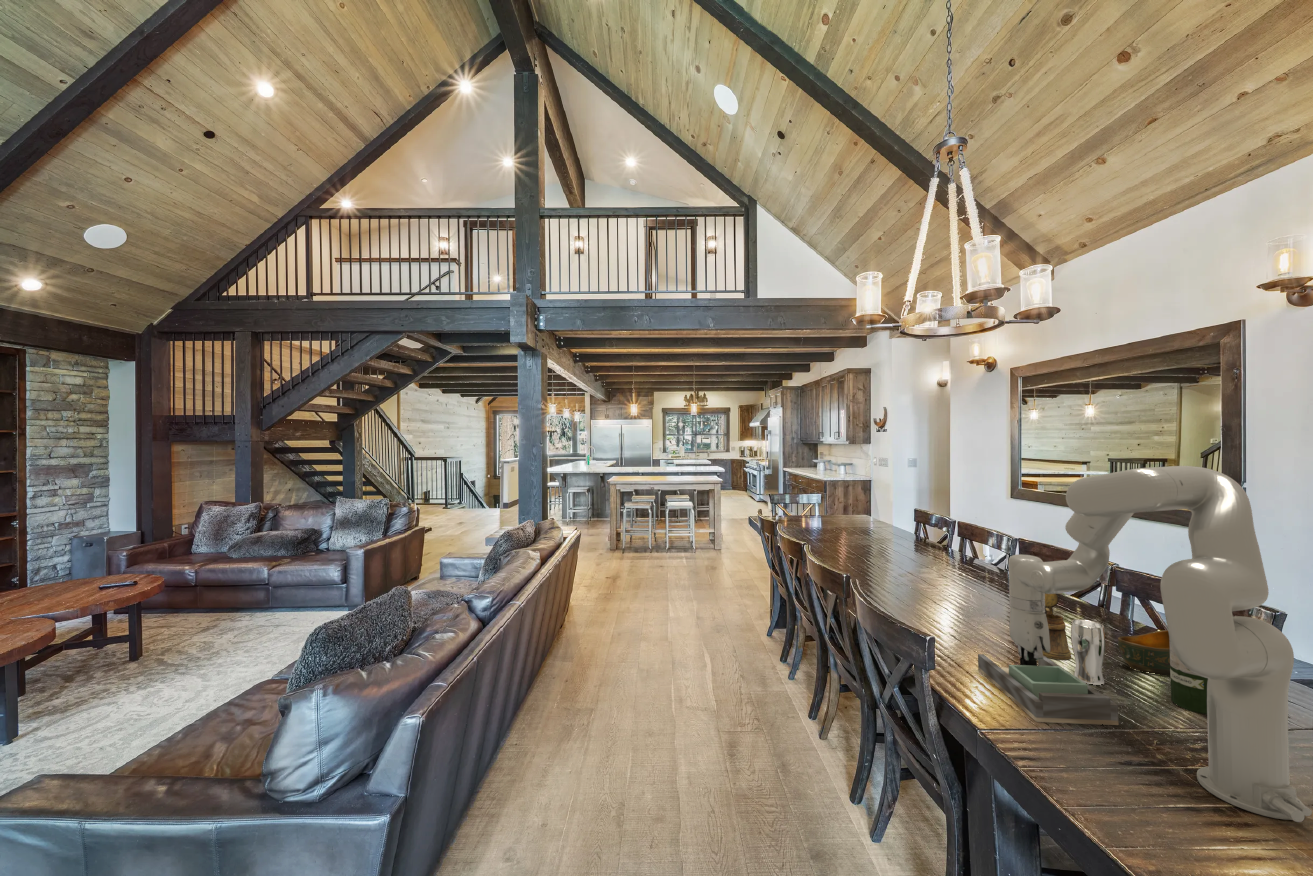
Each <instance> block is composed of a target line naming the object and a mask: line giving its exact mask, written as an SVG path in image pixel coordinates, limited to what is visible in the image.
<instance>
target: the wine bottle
mask: <svg viewBox="0 0 1313 876" xmlns="http://www.w3.org/2000/svg"><path fill="white" fill-rule="evenodd" d="M1169 640H1170V637H1169ZM1169 678H1170V701H1171V702H1172V701H1173V702H1174V703H1175V704H1174V703H1173V702H1172V703H1173V704H1174V705H1176V704H1177V705H1178V707H1179V706H1180V707H1179V708H1181V707H1182V709H1183V708H1184V710H1187V711H1189V712H1193V713H1196V714H1201V715H1207V682H1208V678H1205V677H1202V676H1199V675H1197V674H1195V673H1193V672H1192V671H1190V670H1189V669H1188V668H1187V667H1185V666H1184V665H1183V664H1182V663H1181V661H1180V660H1179V659H1178V657H1177V656H1176V654H1175V652H1174V650H1173V647H1172V645H1171V641H1170V676H1169ZM1177 705H1176V706H1177Z"/></svg>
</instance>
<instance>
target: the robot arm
mask: <svg viewBox="0 0 1313 876" xmlns="http://www.w3.org/2000/svg"><path fill="white" fill-rule="evenodd" d="M1065 500H1066V504H1067V506H1068V507H1069V509H1070V510H1071V511H1072V512H1073V514H1072V515H1071V516H1070V518H1069V519H1068V520H1067V522H1066V523H1065V527H1064V528H1065V531H1066V533H1067V535H1069V537H1071V538H1072V540H1074V541H1075V542H1077V544H1078V545H1077V547H1076V549H1075V550H1074V551H1073V553H1072V554H1071V555H1070V556H1069V557H1068V559H1066V560H1065V559H1062V560H1061V559H1060V560H1054V561H1053V560H1052V561H1043V560H1042V559H1041V558H1040V557H1038V556H1035V555H1030V554H1013V555H1011V556H1010V557H1009V558H1008V588H1009V590H1008V591H1009V594H1008V598H1009V600H1008V601H1009V608H1010V609H1009V621H1008V622H1009V624H1008V625H1009V638H1010V639H1011V640H1012V641H1013V643H1014V645H1016V647H1017V649H1018V650H1017V651H1018V656H1019V665H1035V666H1038V659H1043V651H1044V652H1046V653H1049V652H1050V637H1049V628H1048V622H1047V618H1046V614H1045V607H1046V606H1045V594H1057V595H1058V594H1062V593H1072V592H1080V591H1085V590H1087V589H1088V588H1090V587H1091V586H1092V585H1094V584H1095V583H1096V582H1097V580H1098V579H1099V578H1100V577H1101V575H1103V573H1104V572H1105V571H1106V569H1107V567H1108V566H1109V563H1110V554H1111V553H1110V552H1111V551H1110V548H1109V545H1110V544H1111V543H1112V542H1113V540H1114V539H1115V538H1116V536H1117V535H1118V534H1119V533H1120V531H1121V530H1122V529H1123V528H1124V526H1126V524H1127V522H1129V520H1130V519H1131V517H1132V516H1133V515H1134V514H1135V513H1148V512H1150V513H1151V512H1162V511H1173V510H1174V511H1175V510H1176V511H1177V510H1188V511H1190V512H1191V516H1190V520H1189V523H1188V530H1187V532H1188V533H1187V534H1188V541H1189V544H1190V550H1191V558H1187V559H1182V560H1181V559H1180V560H1179V561H1176V562H1174V563H1171V564H1170V565H1169V566H1168V567H1167V568H1166V569H1165V570H1164V571H1163V574H1162V576H1161V579H1160V586H1159V587H1160V595H1161V600H1162V606H1163V611H1164V615H1165V620H1166V625H1167V627H1166V628H1167V630H1168V632H1169V637H1170V641H1171V645H1172V647H1173V650H1174V652H1175V654H1176V656H1177V657H1178V659H1179V660H1180V661H1181V663H1182V664H1183V665H1184V666H1185V667H1187V668H1188V669H1189V670H1190V671H1192V672H1193V673H1195V674H1197V675H1199V676H1202V677H1205V678H1208V682H1207V714H1206V715H1207V716H1206V717H1207V718H1206V719H1207V750H1208V751H1207V752H1208V753H1207V755H1208V766H1203V767H1200V768H1198V770H1196V771H1197V772H1196V779H1197V781H1198V783H1199V784H1200V785H1201V787H1202V788H1204V789H1205V790H1206V791H1207V792H1209V793H1211V795H1214V796H1215V797H1216V798H1218V799H1221V800H1222V801H1224V802H1225V803H1228V804H1231V805H1233V806H1234V807H1236V808H1240V809H1242V810H1244V811H1247V812H1249V813H1250V812H1251V813H1254V814H1255V815H1260V816H1263V817H1268V818H1271V819H1280V820H1288V821H1294V822H1296V823H1302V822H1303V821H1304V820H1305V817H1310V816H1311V815H1312V814H1313V811H1312V809H1311V808H1310V807H1308V806H1307V805H1305V804H1304V803H1303V802H1302V801H1301V800H1300V798H1298V797H1297V789H1296V788H1295V787H1293V786H1292V785H1290V756H1289V755H1290V754H1289V752H1290V751H1289V747H1290V746H1289V690H1290V683H1291V678H1292V673H1293V669H1294V665H1295V661H1294V660H1295V655H1294V654H1295V653H1294V649H1293V647H1292V644H1291V642H1290V641H1289V639H1288V637H1287V636H1286V635H1285V634H1284V633H1283V632H1282V631H1281V630H1280V629H1278V628H1277V627H1276V626H1274V625H1273V624H1271V623H1269V622H1267V621H1264V620H1262V619H1260V618H1255V617H1250V616H1249V617H1248V616H1241V615H1240V616H1238V615H1235V616H1234V614H1233V612H1238V611H1246V610H1250V609H1254V608H1258V607H1260V606H1262V605H1263V604H1264V603H1266V601H1267V600H1268V598H1269V595H1270V594H1269V586H1268V580H1267V576H1266V572H1265V567H1264V562H1263V558H1262V554H1261V549H1260V546H1259V542H1258V539H1257V535H1256V531H1255V530H1256V529H1255V524H1254V518H1253V510H1252V505H1251V501H1250V499H1249V496H1248V494H1247V492H1246V491H1245V490H1244V488H1243V487H1242V486H1241V484H1239V483H1238V482H1237V481H1236V480H1235V479H1233V478H1232V477H1230V476H1229V475H1226V474H1225V473H1222V472H1220V471H1217V470H1214V469H1211V468H1208V467H1207V468H1206V467H1202V466H1193V465H1173V466H1172V465H1170V466H1155V467H1153V466H1152V467H1141V468H1138V467H1137V468H1132V469H1126V470H1120V471H1116V472H1109V473H1105V474H1099V475H1094V476H1086V477H1081V478H1079V479H1076V480H1075V481H1073V483H1071V484H1070V485H1069V487H1068V488H1067V490H1066V493H1065ZM1042 650H1043V651H1042Z"/></svg>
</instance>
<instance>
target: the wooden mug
mask: <svg viewBox="0 0 1313 876" xmlns="http://www.w3.org/2000/svg"><path fill="white" fill-rule="evenodd" d="M1058 604H1059V595H1058V593H1057V594H1045V614H1046V618H1047V622H1048V628H1049V637H1050V652H1049V653H1046V652H1044V651H1043V650H1042V651H1043V656H1045V657H1047V658H1048V659H1050V660H1051V659H1052V660H1061V661H1065V660H1070V659H1072V653H1071V650H1070V647H1069V643H1068V638H1067V637H1068V636H1067V634H1066V622H1065V621H1064V617H1062V616H1061V615H1058V614H1057V615H1056V614H1054V609H1053V608H1055V607H1056V606H1058Z"/></svg>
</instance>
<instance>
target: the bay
mask: <svg viewBox="0 0 1313 876" xmlns="http://www.w3.org/2000/svg"><path fill="white" fill-rule="evenodd" d="M1037 666H1060V665H1058V664H1057V663H1055V662H1054V661H1053V660H1051V658H1047V657H1045V656H1043V659H1038V661H1037ZM977 667H978V669H977V670H978V672H980V673H981V674H982V675H983V676H984V677H985V678H986V677H987V678H986V679H988V680H989V681H990V682H991V683H992V684H993V685H994V684H995V685H994V686H995V687H996V688H998V690H1000V691H1001V692H1002V691H1003V692H1002V693H1003V694H1004V693H1005V694H1004V695H1006V697H1008V698H1009V697H1010V698H1011V699H1012V700H1011V699H1010V698H1009V699H1010V700H1011V701H1012V702H1013V701H1014V702H1013V703H1015V704H1016V705H1017V706H1018V707H1019V708H1020V709H1021V710H1022V711H1024V712H1025V713H1026V715H1028V716H1029V717H1031V719H1033V720H1034V721H1035V722H1036V723H1056V724H1057V723H1059V724H1076V725H1077V724H1082V725H1102V724H1103V726H1104V725H1105V726H1107V725H1108V726H1119V704H1117V703H1116V702H1114V701H1113V700H1111V697H1109V696H1108V695H1107V694H1102V693H1101V692H1100V691H1098V690H1096V689H1094V688H1093V687H1092V686H1091V685H1089V684H1087V685H1088V694H1069V693H1041V692H1039V699H1038V698H1037V697H1036V696H1035V695H1033V694H1032V693H1031V692H1030V691H1028V690H1027V689H1026V688H1025V687H1023V686H1022V685H1021V684H1020V683H1019V682H1017V681H1016V680H1015V679H1014V678H1012V677H1011V676H1010V675H1009V667H1001V666H999V665H998V664H996V663H995V662H994V661H993V660H991V659H990V658H989V657H988V656H986V654H984V653H978V654H977ZM1060 667H1061V666H1060ZM1061 668H1063V667H1061ZM1063 669H1064V668H1063ZM1064 670H1066V669H1064ZM1066 671H1067V672H1069V671H1068V670H1066ZM1069 673H1070V674H1072V673H1071V672H1069ZM1072 675H1073V676H1074V674H1072ZM1076 678H1077V677H1076ZM1079 680H1080V679H1079ZM1082 682H1083V681H1082ZM1085 684H1086V683H1085Z"/></svg>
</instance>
